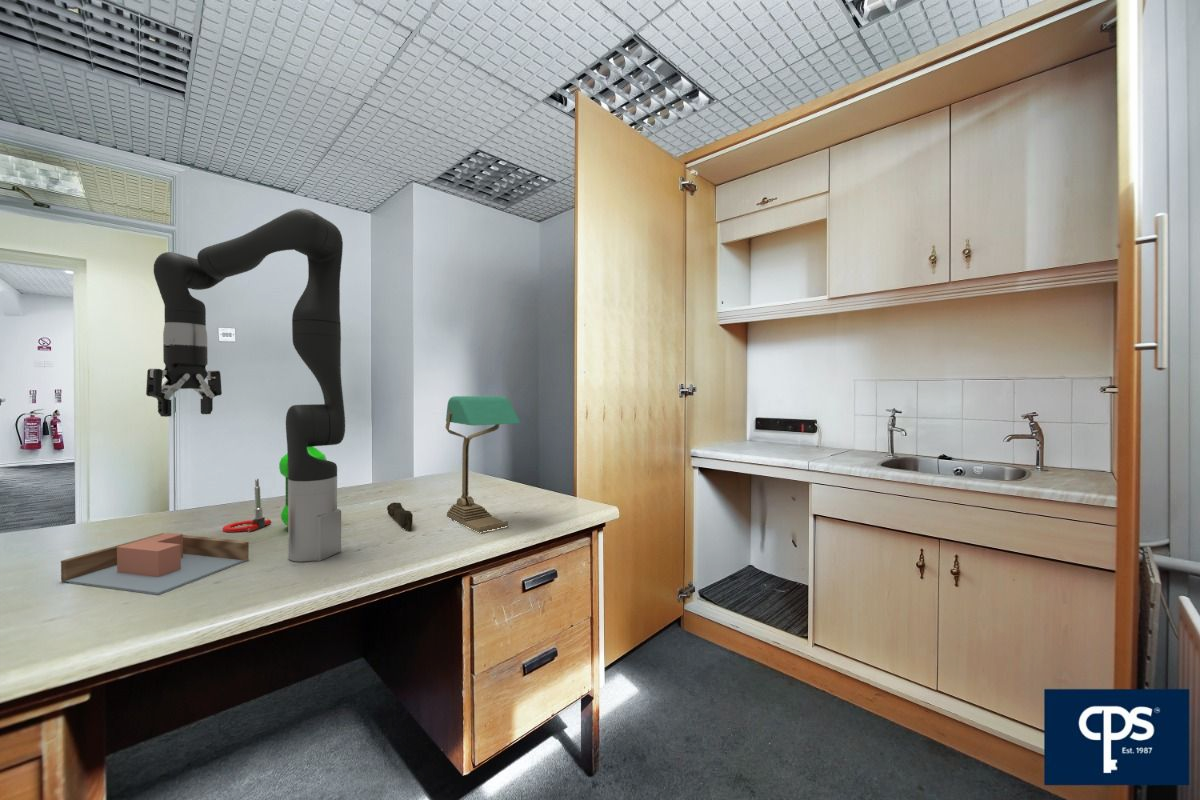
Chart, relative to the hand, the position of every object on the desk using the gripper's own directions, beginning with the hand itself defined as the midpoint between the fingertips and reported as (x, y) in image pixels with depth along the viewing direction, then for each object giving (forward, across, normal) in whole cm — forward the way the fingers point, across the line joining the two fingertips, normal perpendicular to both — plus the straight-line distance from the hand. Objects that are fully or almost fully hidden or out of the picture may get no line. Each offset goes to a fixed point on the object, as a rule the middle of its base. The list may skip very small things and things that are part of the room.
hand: (186, 415), depth 106 cm
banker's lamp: (+30, -33, +56) cm, 72 cm away
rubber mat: (+30, +12, +10) cm, 34 cm away
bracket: (+30, +11, +9) cm, 33 cm away
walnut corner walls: (+30, +12, +10) cm, 34 cm away
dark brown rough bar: (+31, -28, +36) cm, 55 cm away
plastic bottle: (+30, -18, +14) cm, 38 cm away
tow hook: (+30, -14, 0) cm, 33 cm away
